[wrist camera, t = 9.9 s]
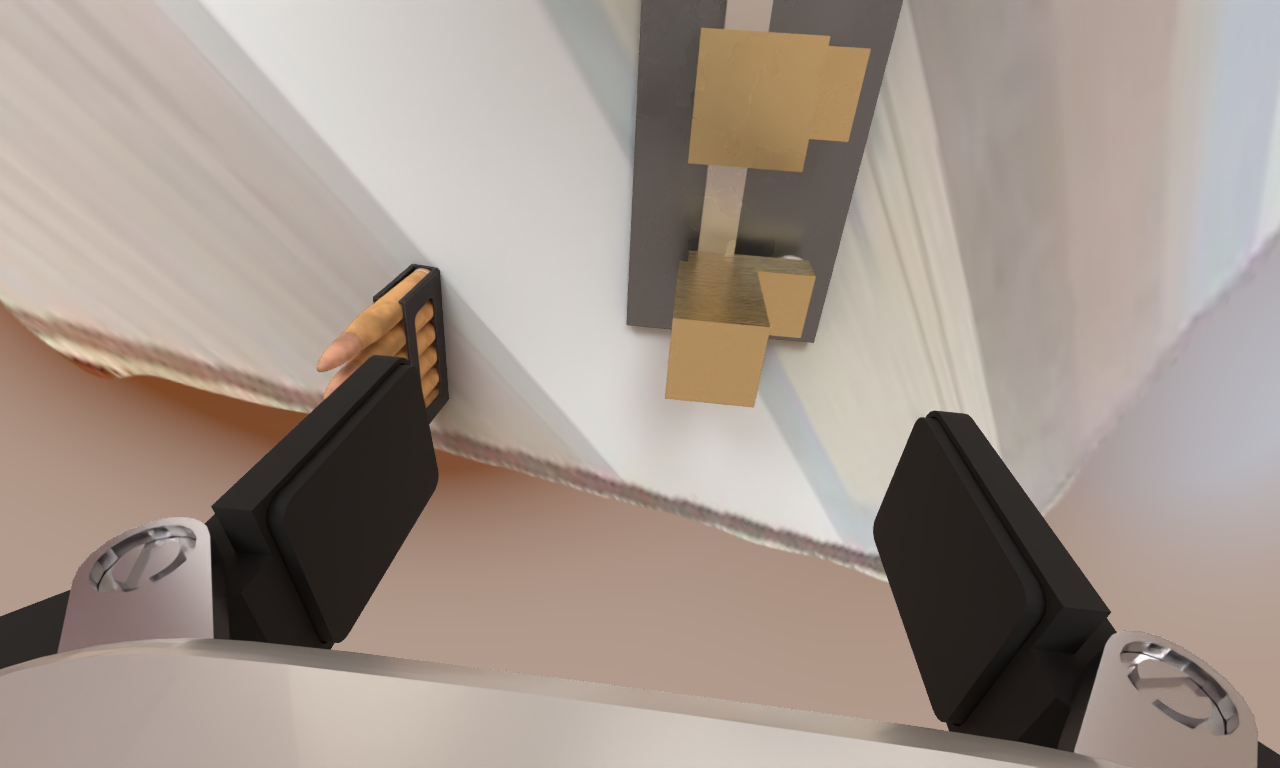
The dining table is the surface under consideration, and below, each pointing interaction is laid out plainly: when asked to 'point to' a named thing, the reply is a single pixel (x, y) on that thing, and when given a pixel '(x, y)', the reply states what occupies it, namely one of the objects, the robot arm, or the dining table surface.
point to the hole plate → (765, 190)
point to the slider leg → (771, 97)
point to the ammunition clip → (398, 334)
